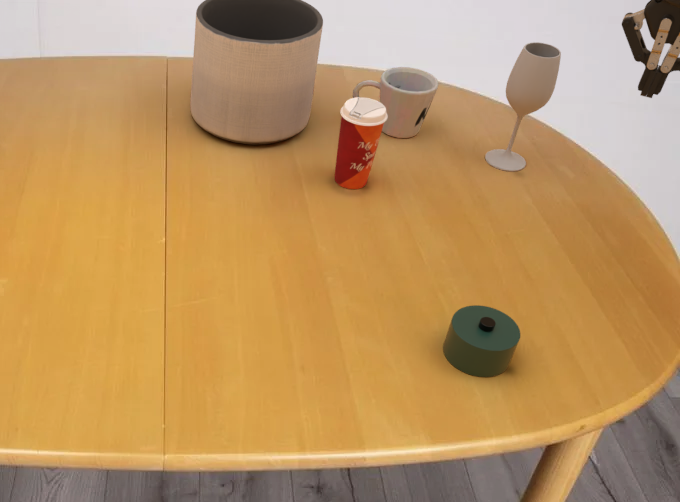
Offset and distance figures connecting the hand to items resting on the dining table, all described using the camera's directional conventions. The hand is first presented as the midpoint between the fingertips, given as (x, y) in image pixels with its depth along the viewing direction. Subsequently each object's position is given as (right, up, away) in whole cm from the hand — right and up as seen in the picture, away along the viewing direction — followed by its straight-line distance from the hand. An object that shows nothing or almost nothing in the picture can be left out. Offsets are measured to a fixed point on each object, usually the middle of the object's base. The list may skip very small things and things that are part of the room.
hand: (646, 94), depth 116 cm
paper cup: (-32, -5, +35) cm, 48 cm away
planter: (-49, +9, +50) cm, 70 cm away
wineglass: (-3, -1, +42) cm, 42 cm away
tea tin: (-21, -35, +4) cm, 41 cm away
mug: (-23, +7, +49) cm, 55 cm away
